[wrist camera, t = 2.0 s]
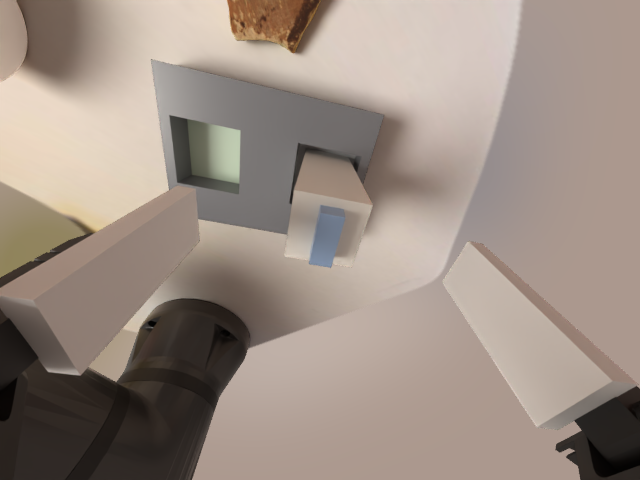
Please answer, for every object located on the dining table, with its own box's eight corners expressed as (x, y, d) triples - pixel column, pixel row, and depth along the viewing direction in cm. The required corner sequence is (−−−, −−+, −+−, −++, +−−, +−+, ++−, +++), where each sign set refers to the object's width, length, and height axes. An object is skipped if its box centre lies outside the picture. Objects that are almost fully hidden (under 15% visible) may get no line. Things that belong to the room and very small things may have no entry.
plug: (337, 196, 24) (353, 278, 13) (299, 188, 23) (281, 267, 12) (348, 156, 22) (377, 213, 11) (306, 148, 21) (291, 197, 10)
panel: (342, 230, 26) (344, 244, 24) (188, 202, 24) (172, 214, 22) (375, 113, 20) (384, 114, 18) (174, 65, 18) (150, 59, 16)
